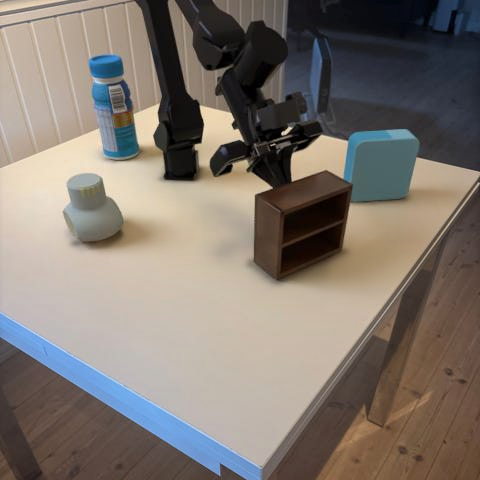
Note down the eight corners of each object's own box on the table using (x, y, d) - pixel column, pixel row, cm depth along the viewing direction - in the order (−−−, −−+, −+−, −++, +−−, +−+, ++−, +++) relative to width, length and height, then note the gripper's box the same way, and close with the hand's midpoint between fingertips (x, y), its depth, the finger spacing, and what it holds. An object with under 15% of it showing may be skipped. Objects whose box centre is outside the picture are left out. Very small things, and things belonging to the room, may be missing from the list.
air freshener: (130, 239, 85) (120, 185, 79) (84, 254, 82) (70, 199, 75) (107, 213, 92) (96, 162, 85) (64, 226, 89) (49, 174, 82)
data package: (398, 188, 98) (412, 128, 90) (407, 198, 95) (421, 137, 87) (340, 192, 97) (349, 131, 89) (347, 203, 94) (356, 141, 86)
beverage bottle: (98, 160, 110) (77, 63, 97) (110, 145, 116) (92, 52, 103) (134, 162, 109) (118, 64, 96) (144, 147, 115) (131, 53, 102)
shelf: (253, 261, 79) (254, 194, 71) (318, 234, 85) (326, 169, 77) (276, 280, 75) (280, 211, 67) (342, 250, 81) (353, 184, 73)
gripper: (215, 86, 64) (264, 194, 65) (321, 62, 72) (364, 159, 73) (190, 129, 74) (232, 222, 75) (285, 104, 82) (323, 189, 83)
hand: (289, 197), depth 76 cm, fingers closed, pressing on shelf
